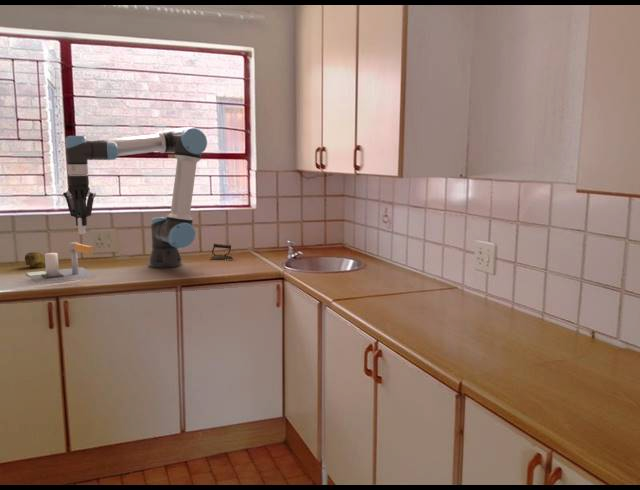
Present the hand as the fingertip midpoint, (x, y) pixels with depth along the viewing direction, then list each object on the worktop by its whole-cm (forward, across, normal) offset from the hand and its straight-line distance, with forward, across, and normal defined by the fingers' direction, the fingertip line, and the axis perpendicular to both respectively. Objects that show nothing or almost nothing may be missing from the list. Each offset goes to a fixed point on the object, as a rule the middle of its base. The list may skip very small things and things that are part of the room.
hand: (82, 233), depth 226 cm
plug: (+18, -16, +3) cm, 25 cm away
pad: (+19, -25, +5) cm, 32 cm away
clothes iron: (+21, +40, +58) cm, 74 cm away
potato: (+20, -33, +20) cm, 44 cm away
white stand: (+20, -15, +7) cm, 26 cm away
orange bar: (+9, -5, +6) cm, 12 cm away
